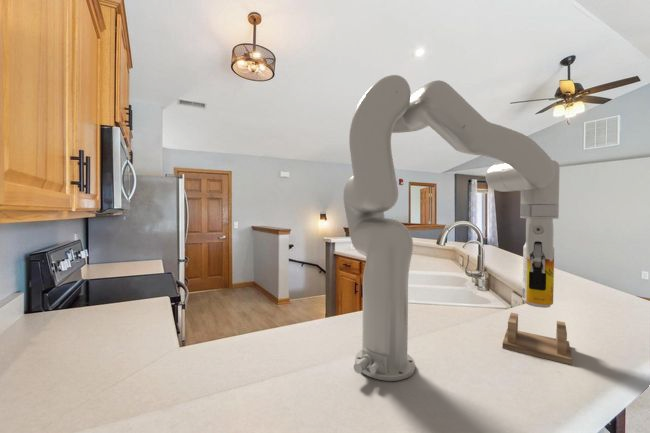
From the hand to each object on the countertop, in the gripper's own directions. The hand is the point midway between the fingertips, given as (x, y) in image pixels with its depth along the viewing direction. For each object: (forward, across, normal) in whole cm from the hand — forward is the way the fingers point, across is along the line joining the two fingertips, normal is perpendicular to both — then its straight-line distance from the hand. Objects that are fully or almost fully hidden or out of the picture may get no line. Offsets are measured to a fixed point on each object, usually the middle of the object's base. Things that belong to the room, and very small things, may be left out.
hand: (537, 285), depth 72 cm
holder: (+15, 0, 0) cm, 15 cm away
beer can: (+5, 0, 0) cm, 5 cm away
